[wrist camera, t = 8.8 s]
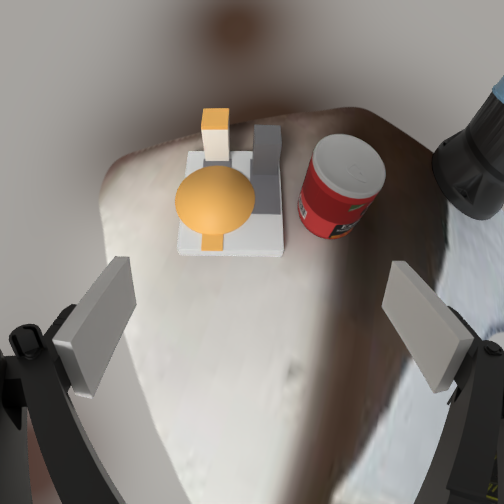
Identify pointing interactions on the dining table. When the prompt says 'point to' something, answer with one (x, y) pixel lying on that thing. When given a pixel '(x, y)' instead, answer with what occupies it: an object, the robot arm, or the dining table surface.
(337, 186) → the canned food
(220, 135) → the lever
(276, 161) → the orange knob base plate
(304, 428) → the dining table surface
